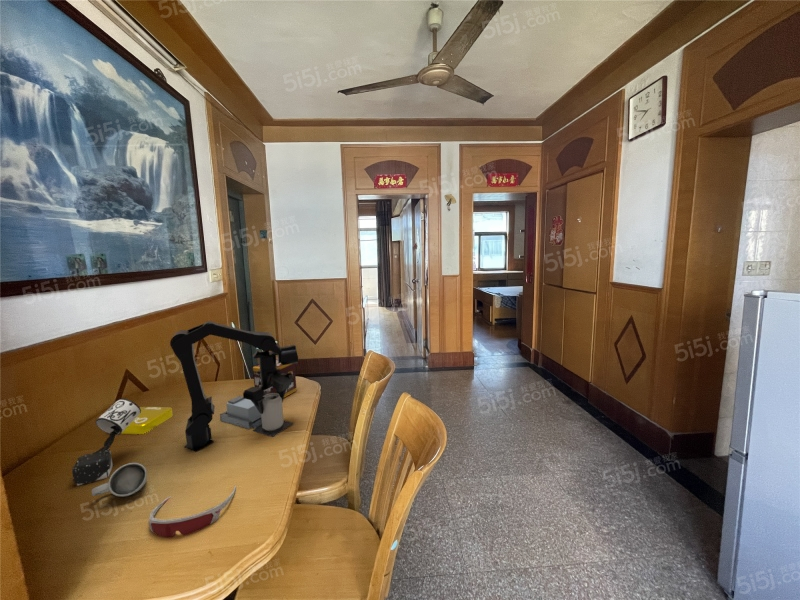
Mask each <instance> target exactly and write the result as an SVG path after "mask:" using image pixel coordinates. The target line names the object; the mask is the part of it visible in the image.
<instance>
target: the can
mask: <svg viewBox="0 0 800 600" xmlns="http://www.w3.org/2000/svg"><path fill="white" fill-rule="evenodd" d="M263 397H265V398H264V399H263V414H261V419H262V428H263V429H265V430H267V431H273V430H276V429H278V428H280V427H281V426H282V425H283V423H284V421H285V420H284V413H283V412H284V411H283V410H284V409H283V402H282V398H281V397H280V395H279V394H277V393H270V394H266V395H264V396H263ZM283 420H284V421H283Z"/></svg>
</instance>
